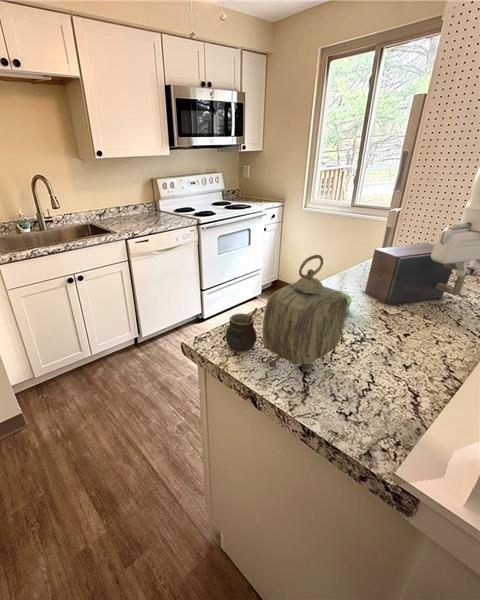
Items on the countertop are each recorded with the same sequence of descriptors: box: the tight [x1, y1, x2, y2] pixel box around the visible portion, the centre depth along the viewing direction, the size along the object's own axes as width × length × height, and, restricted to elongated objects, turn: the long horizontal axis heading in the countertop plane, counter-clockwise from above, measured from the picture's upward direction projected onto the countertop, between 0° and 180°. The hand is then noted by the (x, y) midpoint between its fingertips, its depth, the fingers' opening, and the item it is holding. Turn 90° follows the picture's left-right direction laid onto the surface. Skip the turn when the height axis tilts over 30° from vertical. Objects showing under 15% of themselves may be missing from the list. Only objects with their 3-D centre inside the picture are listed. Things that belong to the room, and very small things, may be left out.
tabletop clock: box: [262, 254, 347, 370], centre depth 63 cm, size 14×9×25 cm, turn 120°
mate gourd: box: [224, 307, 259, 353], centre depth 74 cm, size 7×8×10 cm
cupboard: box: [364, 242, 435, 304], centre depth 90 cm, size 8×16×14 cm, turn 96°
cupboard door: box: [386, 254, 470, 305], centre depth 83 cm, size 6×16×14 cm, turn 95°
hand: (466, 275), depth 79 cm, fingers closed on cupboard door
